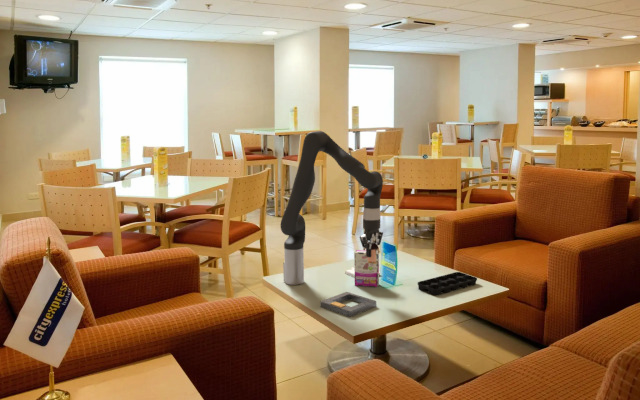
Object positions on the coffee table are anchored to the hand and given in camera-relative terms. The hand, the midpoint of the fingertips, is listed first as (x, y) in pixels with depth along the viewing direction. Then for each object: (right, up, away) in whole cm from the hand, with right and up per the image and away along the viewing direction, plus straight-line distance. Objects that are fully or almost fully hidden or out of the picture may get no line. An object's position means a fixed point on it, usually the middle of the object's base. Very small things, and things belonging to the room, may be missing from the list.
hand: (371, 255), depth 240 cm
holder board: (-11, -21, -9) cm, 25 cm away
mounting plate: (-1, -14, +35) cm, 38 cm away
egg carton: (+37, -17, +15) cm, 44 cm away
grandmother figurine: (0, -3, 0) cm, 3 cm away
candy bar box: (0, -16, +19) cm, 25 cm away
